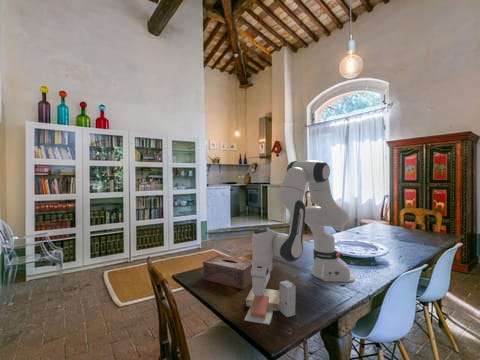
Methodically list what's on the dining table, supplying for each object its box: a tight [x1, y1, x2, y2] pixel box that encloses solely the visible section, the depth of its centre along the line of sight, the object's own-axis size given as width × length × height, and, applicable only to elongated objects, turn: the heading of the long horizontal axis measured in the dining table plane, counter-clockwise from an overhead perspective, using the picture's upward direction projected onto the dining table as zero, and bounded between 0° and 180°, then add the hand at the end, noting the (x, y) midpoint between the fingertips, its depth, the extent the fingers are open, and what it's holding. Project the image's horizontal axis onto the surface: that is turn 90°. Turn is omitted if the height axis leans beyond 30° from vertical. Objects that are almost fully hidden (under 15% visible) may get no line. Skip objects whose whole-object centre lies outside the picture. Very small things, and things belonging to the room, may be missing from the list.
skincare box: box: [278, 280, 297, 318], centre depth 98 cm, size 6×4×12 cm
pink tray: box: [250, 296, 269, 318], centre depth 98 cm, size 9×6×2 cm, turn 163°
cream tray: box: [245, 286, 280, 312], centre depth 107 cm, size 14×12×3 cm
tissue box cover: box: [202, 253, 252, 290], centre depth 131 cm, size 26×14×10 cm, turn 61°
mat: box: [244, 306, 274, 326], centre depth 96 cm, size 10×10×1 cm
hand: (262, 296), depth 103 cm, fingers closed
